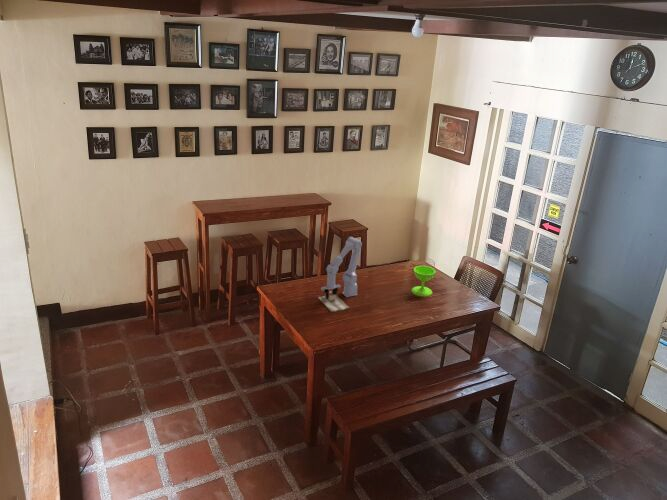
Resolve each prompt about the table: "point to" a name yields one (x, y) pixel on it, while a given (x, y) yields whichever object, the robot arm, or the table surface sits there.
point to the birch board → (334, 304)
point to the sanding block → (330, 297)
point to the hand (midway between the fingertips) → (330, 297)
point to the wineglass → (423, 280)
